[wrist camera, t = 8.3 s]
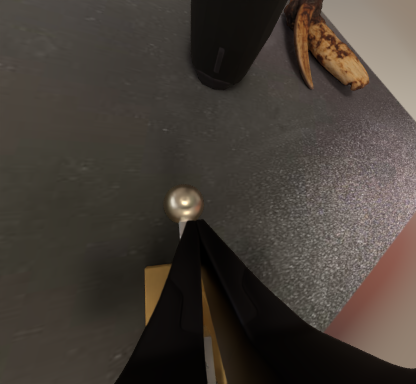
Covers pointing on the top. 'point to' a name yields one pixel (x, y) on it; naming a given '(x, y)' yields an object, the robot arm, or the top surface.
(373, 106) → the top surface
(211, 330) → the tap bracket
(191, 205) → the tap lever
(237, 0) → the portable speaker
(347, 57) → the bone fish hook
